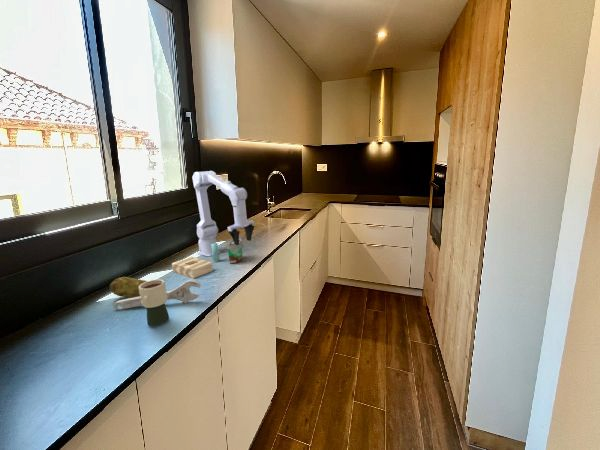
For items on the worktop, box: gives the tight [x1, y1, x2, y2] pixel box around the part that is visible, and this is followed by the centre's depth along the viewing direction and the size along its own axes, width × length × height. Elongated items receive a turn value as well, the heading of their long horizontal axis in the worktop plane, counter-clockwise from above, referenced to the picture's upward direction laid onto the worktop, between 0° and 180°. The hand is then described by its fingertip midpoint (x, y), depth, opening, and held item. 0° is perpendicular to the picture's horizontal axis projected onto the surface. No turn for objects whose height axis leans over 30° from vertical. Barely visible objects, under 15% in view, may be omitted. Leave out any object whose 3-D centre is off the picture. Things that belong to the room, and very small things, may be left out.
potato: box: [109, 276, 148, 299], centre depth 107 cm, size 8×13×8 cm, turn 98°
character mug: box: [139, 279, 170, 327], centre depth 88 cm, size 11×7×13 cm, turn 4°
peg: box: [211, 242, 221, 263], centre depth 141 cm, size 3×3×9 cm
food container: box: [226, 238, 244, 265], centre depth 140 cm, size 12×6×10 cm, turn 179°
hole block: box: [171, 256, 214, 280], centre depth 130 cm, size 16×10×4 cm, turn 53°
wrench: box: [113, 279, 202, 311], centre depth 100 cm, size 8×2×30 cm
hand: (243, 242), depth 135 cm, fingers open, 7 cm apart
